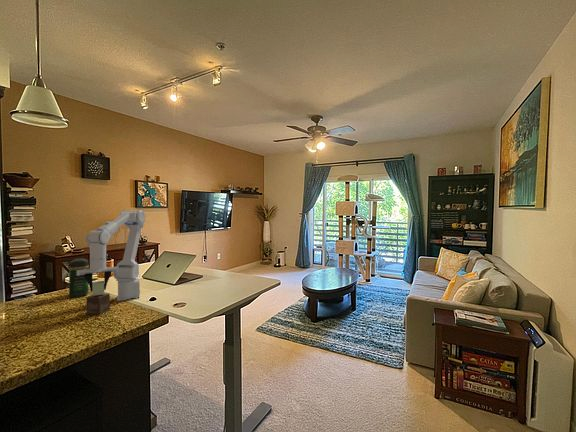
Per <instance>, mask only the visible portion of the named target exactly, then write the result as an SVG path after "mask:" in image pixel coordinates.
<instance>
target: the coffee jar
mask: <svg viewBox="0 0 576 432" xmlns="http://www.w3.org/2000/svg"><path fill="white" fill-rule="evenodd" d="M68 265H69V266H68V267H69V268H68V271H69V274H68V279H69V284H68V286H69V287H68V288H69V289H68V294H69V295H68V296H69V297H70V298H80V297H84V296H86V295H88V294H89V291H90V290H89V289H90V286H89V284H88V282H87V280H86V279H85V275H79V276H77V270H84V269H90V261H89V259H86V258H83V257H82V258H80V257H79V258H74V259H72V260H70V261H69V264H68Z"/></svg>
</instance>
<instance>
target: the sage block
mask: <svg viewBox="0 0 576 432" xmlns="http://www.w3.org/2000/svg"><path fill="white" fill-rule="evenodd" d="M92 283H93V284H92V292H91V293H92V294H91V295H92V296H95V295H103V294H104V293H105V290H104V280H98V281H92Z"/></svg>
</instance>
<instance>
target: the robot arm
mask: <svg viewBox="0 0 576 432" xmlns="http://www.w3.org/2000/svg"><path fill="white" fill-rule="evenodd" d="M145 221H146V215H145V212H144V210H141V209H140V210H134V209H133V210H132V209H131V210H128V209H127V210H126V209H123V210H122V211H120V212H119V215H118V216H117V217H116V218H115V219H114V220H112V221H105V222H104V224H103V225H101V226H99V227H97V229H95V230H91V231H90V232H88V233H87V235H86V237H85V241H86V243H87V244H88V245H87V246H88V248H89V269H84V270H77V276H79V275H85V279H86V280H87V282H88V284H89V289H90V290H89V291H90V292H91V293H92V284H93V279H94V278H93V277H94V276H93V275H95V274H96V275H97V274H104V275H103V277H104V278H103V279H104V280H103V281H104V291H106V290H107V286H108V281H109V279H110V277H111V275H112V274H113V277H114V279H115V280H116V282H117V296H116V301H117V302H121V301H128V300H127V299H129V300H131V299H130V298H136V299H139V298H138V297H140V294H141V289H140V286H141V285H140V278H138V276H139V275H140V264H139V263H138V262H137V261H136V256H137V252H138V247H139V243H140V239H141V238H140V237H141V233H142V230H143V228H144V225H145ZM123 225H124V226H125V227H126V228H128V230H129V232H128V235H127V241H126V245H125V249H124V253H123V257H122V260H120V261H119V262H117V263H116V266H107V244H109V242H110V239H111V238H112V236H114V235H115V233H117V232H118V231H119V228H120V227H121V226H123Z"/></svg>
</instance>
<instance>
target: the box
mask: <svg viewBox="0 0 576 432" xmlns="http://www.w3.org/2000/svg"><path fill="white" fill-rule="evenodd" d="M110 295H111V294H110V292H109V293H106V292H104V294H103V295H95V296H92V294H91V295H89V296H86V298H85V299H86V303H85V304H86V315H97V316H98V315H102V314H104V313H106V312H108V311H110V309H111V307H110V306H111V304H110V299H111V297H110Z"/></svg>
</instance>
